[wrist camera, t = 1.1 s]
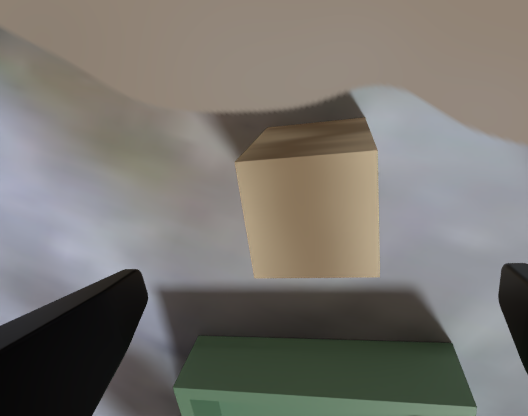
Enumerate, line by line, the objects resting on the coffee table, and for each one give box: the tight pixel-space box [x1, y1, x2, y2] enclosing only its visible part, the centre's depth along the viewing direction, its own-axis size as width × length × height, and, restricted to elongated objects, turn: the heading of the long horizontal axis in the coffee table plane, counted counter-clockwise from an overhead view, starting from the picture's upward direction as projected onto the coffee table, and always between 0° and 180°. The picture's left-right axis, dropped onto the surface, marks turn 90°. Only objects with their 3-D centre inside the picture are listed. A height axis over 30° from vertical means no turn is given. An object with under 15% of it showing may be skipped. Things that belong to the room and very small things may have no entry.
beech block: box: [235, 117, 380, 278], centre depth 15 cm, size 4×4×6 cm
